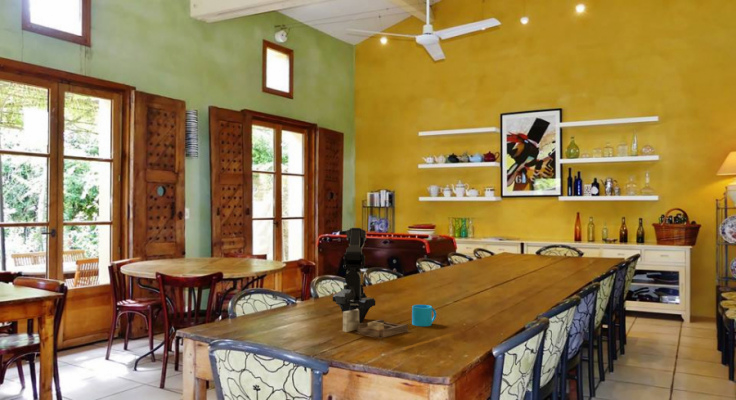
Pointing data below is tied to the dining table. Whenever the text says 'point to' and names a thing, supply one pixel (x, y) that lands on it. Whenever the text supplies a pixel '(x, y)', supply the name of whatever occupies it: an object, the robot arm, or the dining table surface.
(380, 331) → the offcut low
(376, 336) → the rack
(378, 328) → the offcut top
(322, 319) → the dining table surface
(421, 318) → the mug
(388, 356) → the dining table surface
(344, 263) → the robot arm
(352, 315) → the block
